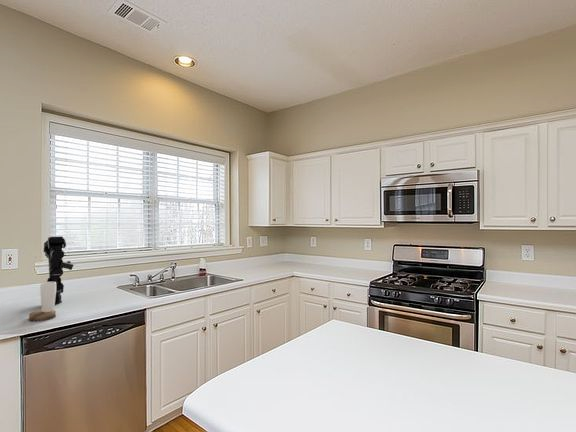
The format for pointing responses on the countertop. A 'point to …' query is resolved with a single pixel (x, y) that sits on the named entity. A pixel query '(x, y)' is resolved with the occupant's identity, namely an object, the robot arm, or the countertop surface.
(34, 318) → the walnut pedestal
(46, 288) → the drinking glass
